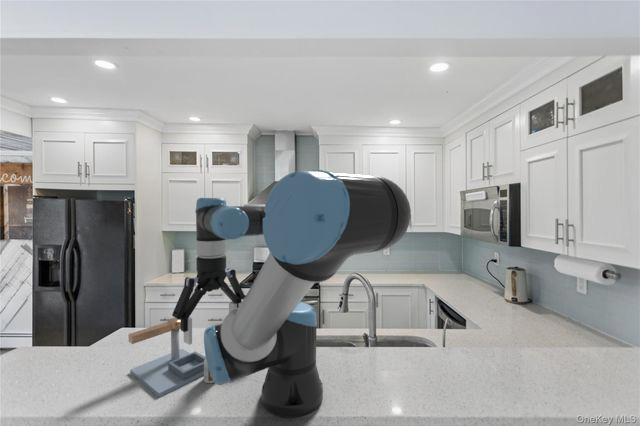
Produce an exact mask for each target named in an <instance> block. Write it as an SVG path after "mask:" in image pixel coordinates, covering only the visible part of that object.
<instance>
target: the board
mask: <svg viewBox="0 0 640 426" xmlns="http://www.w3.org/2000/svg"><path fill="white" fill-rule="evenodd" d="M170 349H171V350H170V353H169V354H165V355H164V356H161V357H158V358H156V359H153V360H150V361H147V362H145V363H142V364H140V365H138V366H136V367H132V368H131V369H130V374H131V375H132V376H133V377H134V378H136V380H138V381H139V382H141V384H143V385H144V386H145V387H146V388H147V389H148V390H150V392H152V393H153V394H154V395H155V396H156V397H158V398H161V397H163V396H164V395H167V394H169V393H171V392H173V391H174V390H177V389H179V388H181V387H182V386H185V385H187V384H189V383H190V382H193V381H195V380H197V379H199V378H200V377H204V360H205V359H206V357H205V356H204V355H202V354H201V353H199V352H197V351H193V352H189V351H187V350H185V349H183V348H181V349H180V329H179V330H175V331H170Z"/></svg>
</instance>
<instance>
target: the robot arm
mask: <svg viewBox="0 0 640 426" xmlns="http://www.w3.org/2000/svg"><path fill="white" fill-rule="evenodd" d="M195 204H196V205H195V212H194V213H195V222H196V223H195V227H196V229H195V231H196V233H195V234H196V236H195V237H196V255H197V257H196V272H197V273H196V277H188V276H187V277H185V278H184V285H183V288H182V290H181V293H180V295H179V297H178V299H177V302H176V305H175V307H174V309H173V312H172V314H171V316H172V317H174V318H177V319H180V326H181V327H180V329H179V330H180V331H181V332H183V342H184V343H185V344H187V345H188V346H190V345H192V344H193V318H192V317H191V314H192V313H193V312H194V310H195V309H196V307H197V305H198V304H199V303H200V301H201V299H202V298H203V296H205V295H206V294H207V292H212V291H214V290H215V291H216V290H219V289H220V290H221V291H222V292H223V293H224V294H225V295H226V296H227V298H228V299H229V300H230V301H229V302H228V313H227V315H226V316H225V317H224V318H223V321H222V322H221V323H220V324H212V325H210V326H208V327H206V328H205V330H204V333H203V345H204V355H206V360H207V364H208V368H209V372H210V375H211V377H212V379H213V381H214V382H215V383H214V384H216V385H218V386H222V385H225V384H228V383H229V384H232V383H233V382H235V381H238V380H239V379H242V378H245V377H248V376H250V375H253V374H255V373H257V372H260V371H263V370H264V371H265V370H266V369H267V371H266V375H265V377H264V382H263V384H262V387H261V403H262V405H263V407H264V408H265V410H266V411H267V412H269V413H271V414H273V415H275V416H278V417H281V418H297V417H303V416H305V415H308V414H310V413H312V412H314V411H315V410H317V409H318V407H319V406H320V405H321V403H322V402H323V398H324V388H323V387H324V386H323V382H322V380H321V379H320V375H319V371H318V367H317V328H318V327H317V326H318V323H317V322H318V321H317V312H316V310H315V308H314V307H313V306H311V305H310V304H308V303H306V302H302V300H303V298H305V296H306V295H307V293H308V292H309V291H310V290H311V288H313V286H314V285H315V284H318V283H324V282H327V281H328V280H330V279H331V278H333V276H334V275H336V273H337V272H338V271H339V270H340V268H341V267H342V266H343V265H344V263H346V261H347V260H348V259H349V258H350V257H352V256H354V255H355V256H357V255H362V254H368V253H374V252H380V251H384V250H386V249H387V250H388V249H389V248H391V247H392V246H394V245H395V244H397V243H398V242H399V241H400V240H401V239H402V238H403V237H404V235H405V234H406V232H407V230H408V228H409V226H410V223H411V215H412V214H411V213H412V212H411V210H412V209H411V205H410V202H409V199H408V197H407V195H406V193H405V192H404V191H403V188H401V187H400V186H399V185H398V184H397V183H395V182H394V181H392V180H390V179H389V178H386V177H382V176H379V175H365V174H354V173H353V174H351V173H336V172H335V173H333V172H331V171H327V170H323V169H315V170H314V169H313V170H308V171H307V170H299V171H293V172H290V173H288V174H286V175H284V176H283V177H281V179H279V180H278V181H277V182H276V183H275V184H274V186H273V187H272V189H271V190H270V192H269V194H268V196H267V198H266V201H265V204H264V205H259V206H257V205H251V206H249V205H248V206H247V205H245V206H243V205H241V206H239V205H238V206H237V205H235V206H233V205H232V206H231V205H230V206H228V205H227V200H226V199H225V198H224V197H199V198H198V199H196V203H195ZM253 236H263V238H264V242H265V244H266V247H267V249H268V251H269V254H268V255H267V257H266V260H265V261H264V262H263V265H262V267H261V268H260V270H259V271H258V274H257V275H256V277H255V279H254V281H253V282H252V284H251V286H250V288H249V289H248V292H247V293H246V295H245V293H244V291H243V289H242V287H241V285H240V283H239V280H238V278H237V274H236V270H235V269H233V268H227V256H226V254H227V240H238V239H241V238H242V237H243V238H244V237H253ZM226 278H227V279H228V282H229V284H230V286H231V288H232V289H231V288H230V287H229V285H228V284H227V282H226V281H225V280H226ZM242 299H243V301H242ZM239 305H240V306H239Z"/></svg>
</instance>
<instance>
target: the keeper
mask: <svg viewBox="0 0 640 426" xmlns="http://www.w3.org/2000/svg"><path fill="white" fill-rule="evenodd" d="M180 327H181V326H180V319H177V318H175V317H174V318H170V319H168V320H167V321H165V322H163V323H159V324H156V325H154V326H150V327H147V328H144V329H140V330H138V331H133V332H130V333H128V342H129V343H130V344H131V345H134V344H137V343H139V342H144V341H146V340H148V339H151V338H154V337H157V336H161V335H163V334H166V333H169V332H170V333H171V331H175V330H179V331H180V330H181V329H180Z"/></svg>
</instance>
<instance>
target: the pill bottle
mask: <svg viewBox="0 0 640 426" xmlns="http://www.w3.org/2000/svg"><path fill="white" fill-rule="evenodd" d="M204 355H205V356H204V357H206V354H204ZM203 382H205V384H216V383H215V382H214V381H213V379H212V377H211V375H210V372H209V368H208V364H207V360H206V359H205V360H204V375H203Z"/></svg>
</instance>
